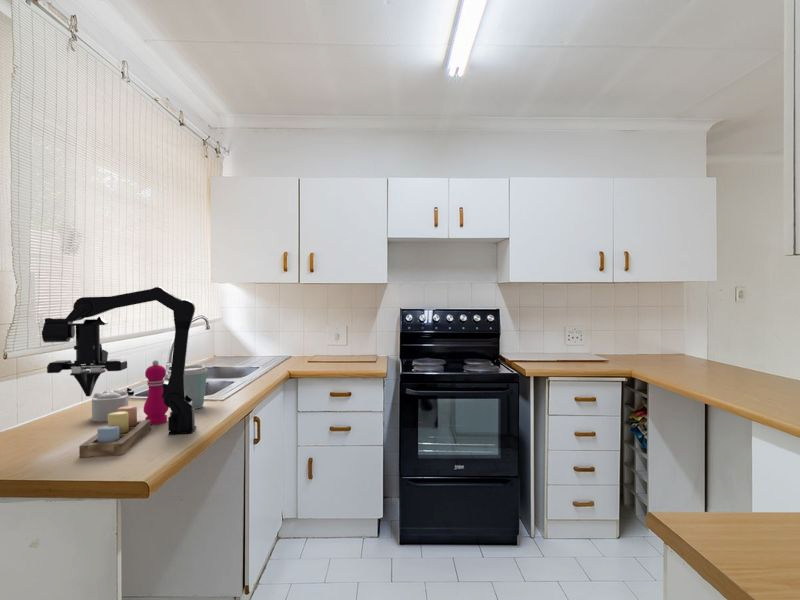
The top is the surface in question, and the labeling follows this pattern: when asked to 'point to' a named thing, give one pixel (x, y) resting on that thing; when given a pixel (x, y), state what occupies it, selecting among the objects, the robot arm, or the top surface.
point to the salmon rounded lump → (130, 414)
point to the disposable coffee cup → (195, 383)
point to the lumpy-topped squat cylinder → (107, 403)
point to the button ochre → (119, 421)
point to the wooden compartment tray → (115, 448)
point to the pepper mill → (155, 394)
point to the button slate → (108, 434)
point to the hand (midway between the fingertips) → (88, 396)
